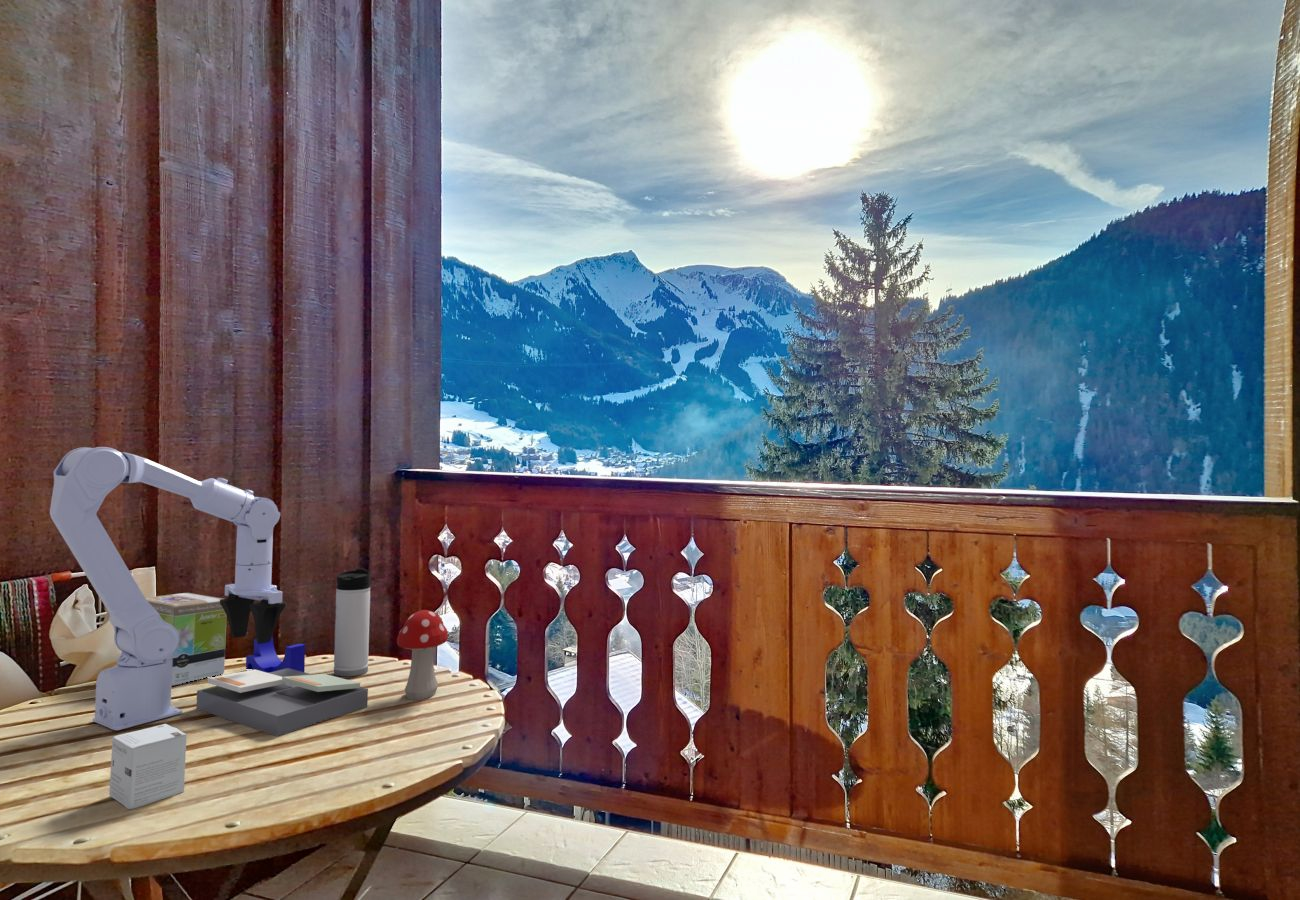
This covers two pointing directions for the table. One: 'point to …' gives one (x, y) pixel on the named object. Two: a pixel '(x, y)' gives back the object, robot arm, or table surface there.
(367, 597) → the travel mug
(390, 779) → the table surface
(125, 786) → the skincare box
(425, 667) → the decorative mushroom
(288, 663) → the blue curved bracket
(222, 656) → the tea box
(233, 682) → the cream rocker
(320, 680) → the plate
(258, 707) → the switch block
